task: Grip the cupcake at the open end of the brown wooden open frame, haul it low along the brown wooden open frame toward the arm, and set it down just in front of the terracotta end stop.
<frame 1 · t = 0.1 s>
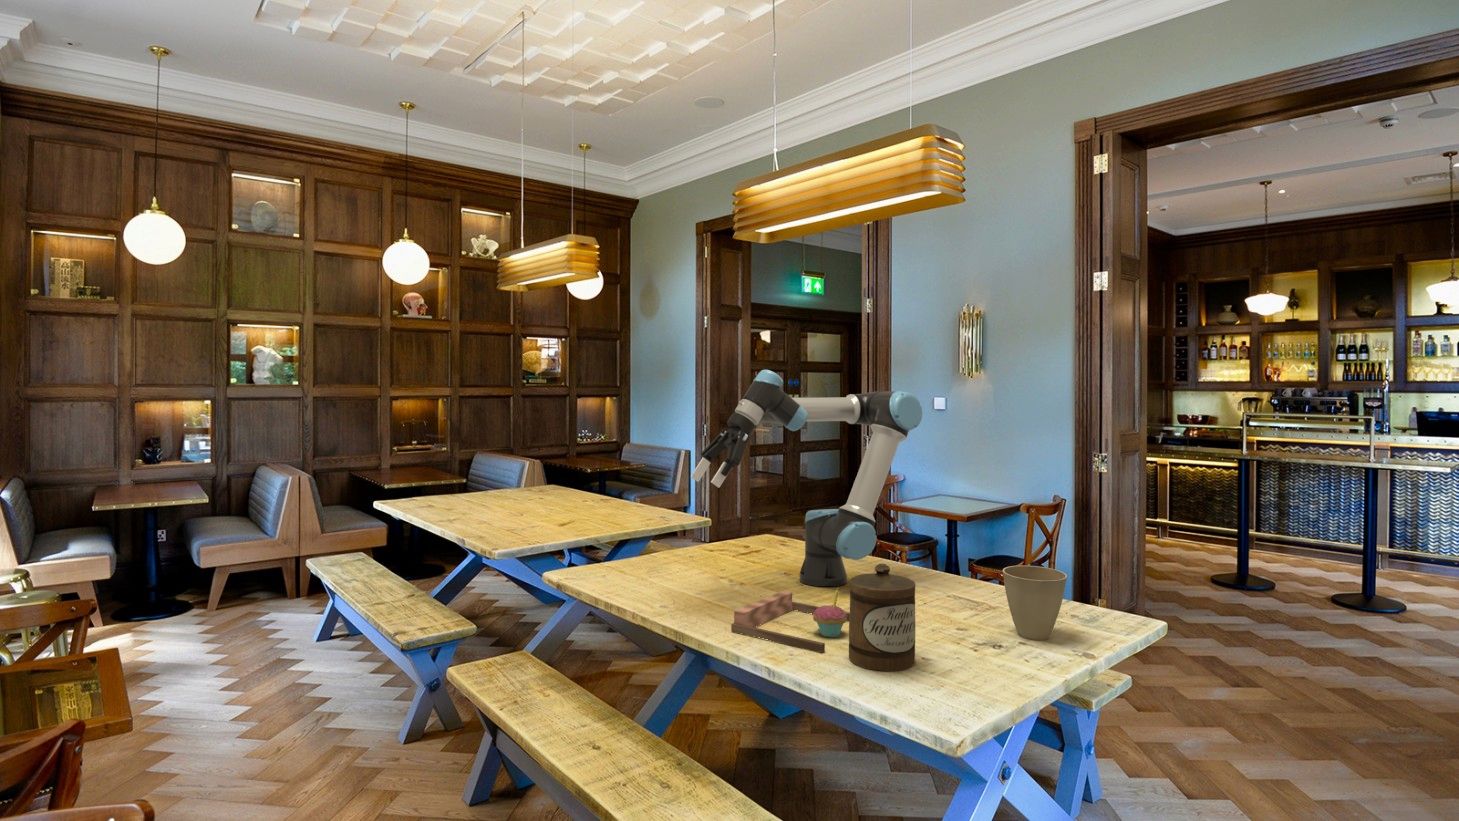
hand: (704, 482, 207), 36 cm above the table, tool tilted 35°, fingers open, 13 cm apart
brown wooden open frame: (802, 628, 194), on the table
cupcake: (829, 634, 190), on the table
wooden container: (881, 660, 172), on the table
plant pot: (1033, 636, 189), on the table
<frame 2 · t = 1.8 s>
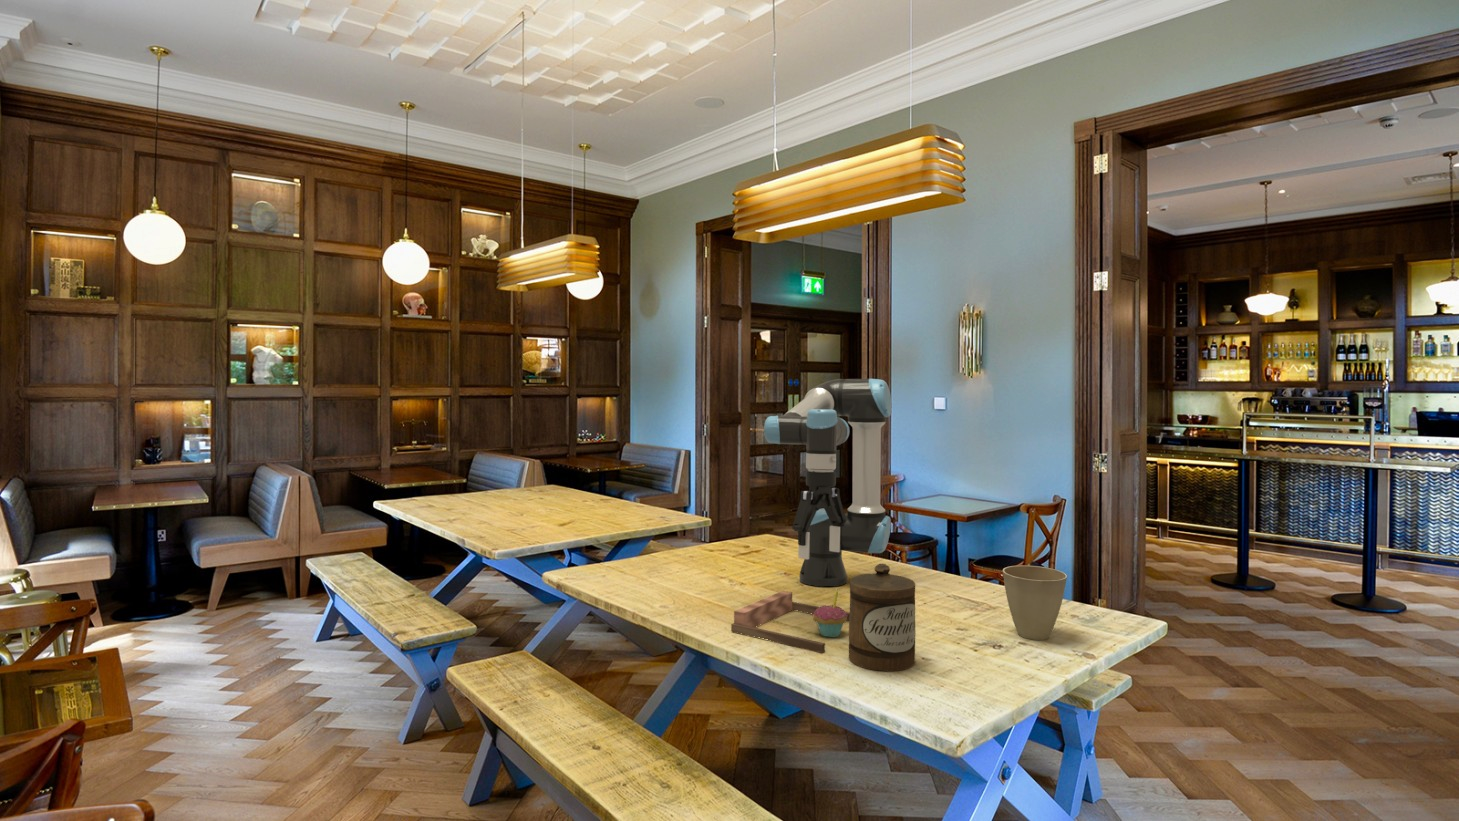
hand: (819, 555, 189), 20 cm above the table, tool pointing down, fingers open, 13 cm apart
nothing on the table moved.
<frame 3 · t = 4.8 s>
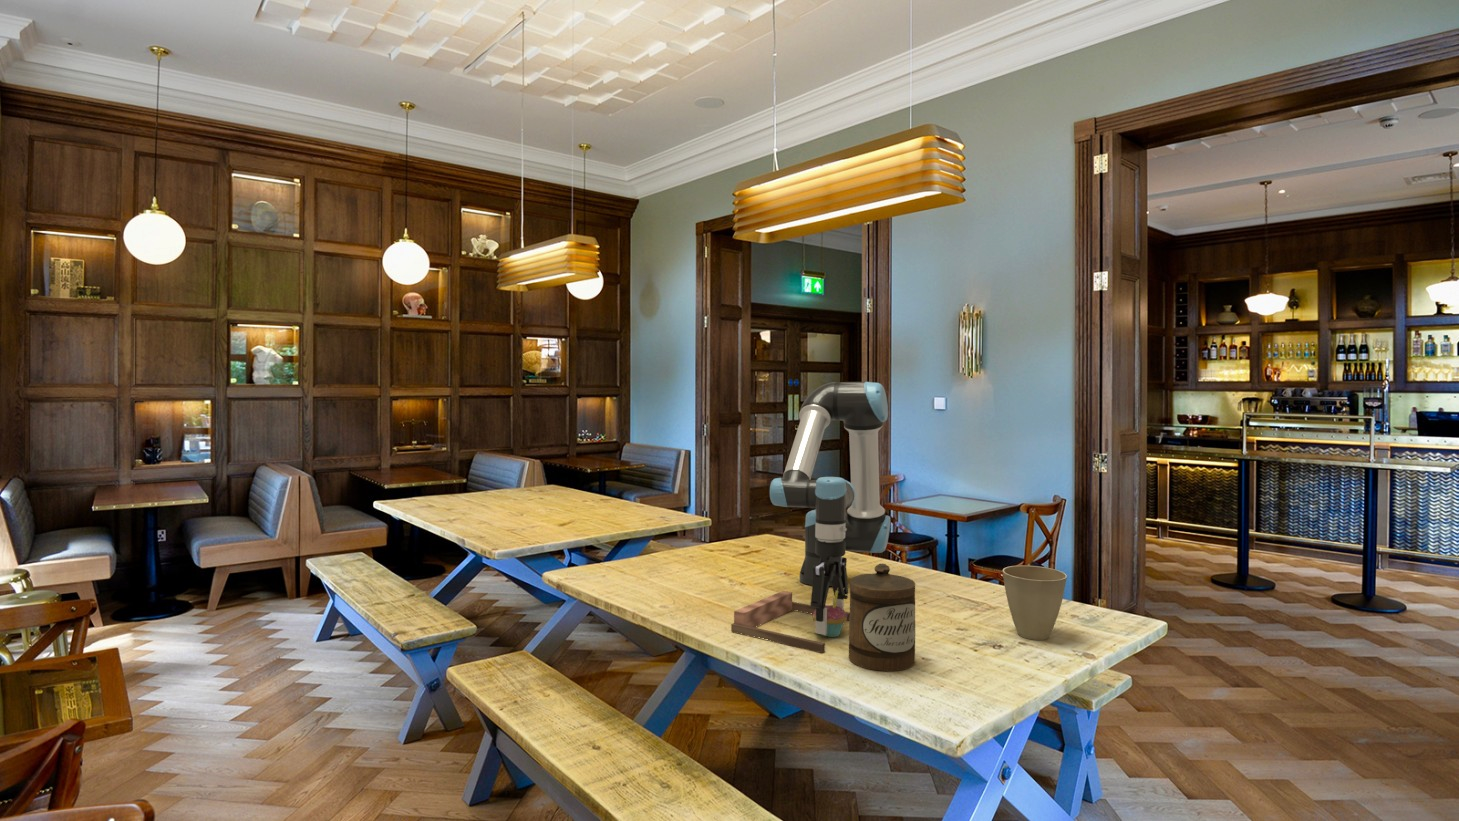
hand: (829, 628, 190), 1 cm above the table, tool pointing down, fingers closed on cupcake, 8 cm apart
cupcake: (829, 634, 190), on the table, touching gripper
everything else where it was.
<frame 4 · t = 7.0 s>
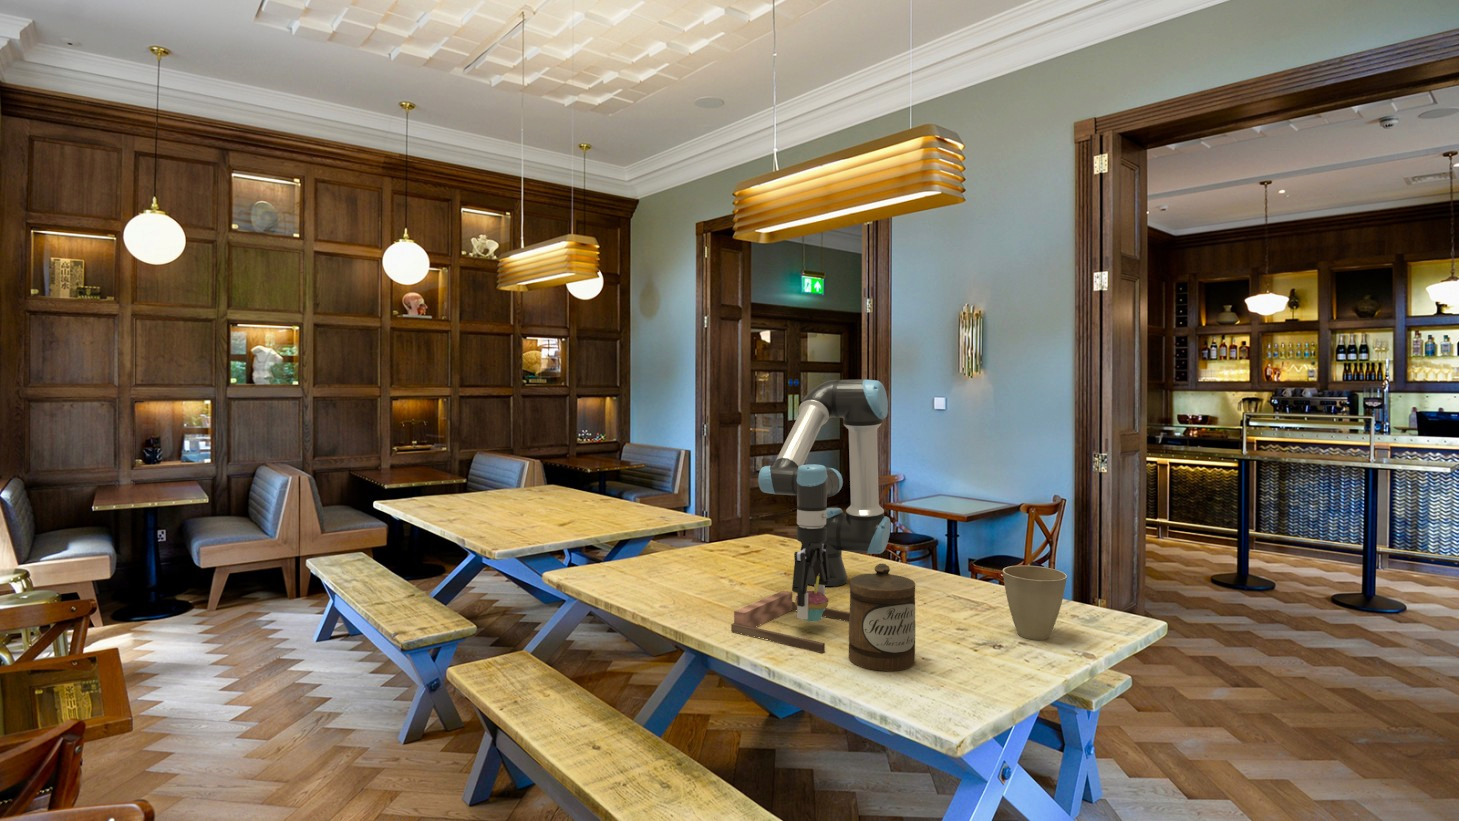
hand: (811, 613, 193), 4 cm above the table, tool pointing down, fingers closed on cupcake, 8 cm apart
cupcake: (811, 619, 193), point 3 cm above the table, touching gripper
everything else where it was.
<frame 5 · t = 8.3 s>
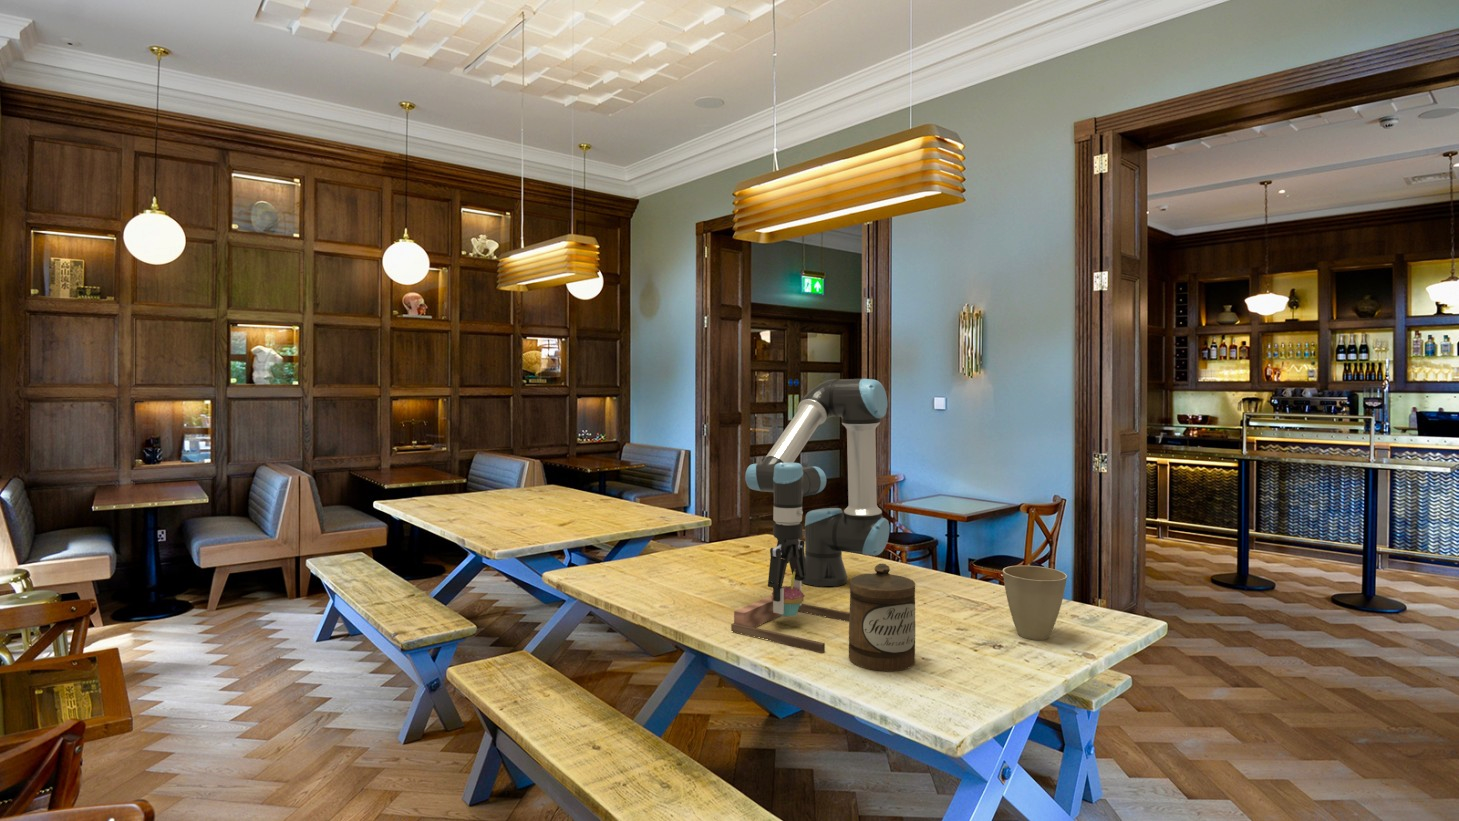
hand: (787, 608, 197), 4 cm above the table, tool pointing down, fingers closed on cupcake, 8 cm apart
cupcake: (787, 614, 197), point 3 cm above the table, touching gripper
everything else where it was.
when the fingers open (3 cm above the table, at t = 9.5 s): cupcake drops 1 cm, on the table.
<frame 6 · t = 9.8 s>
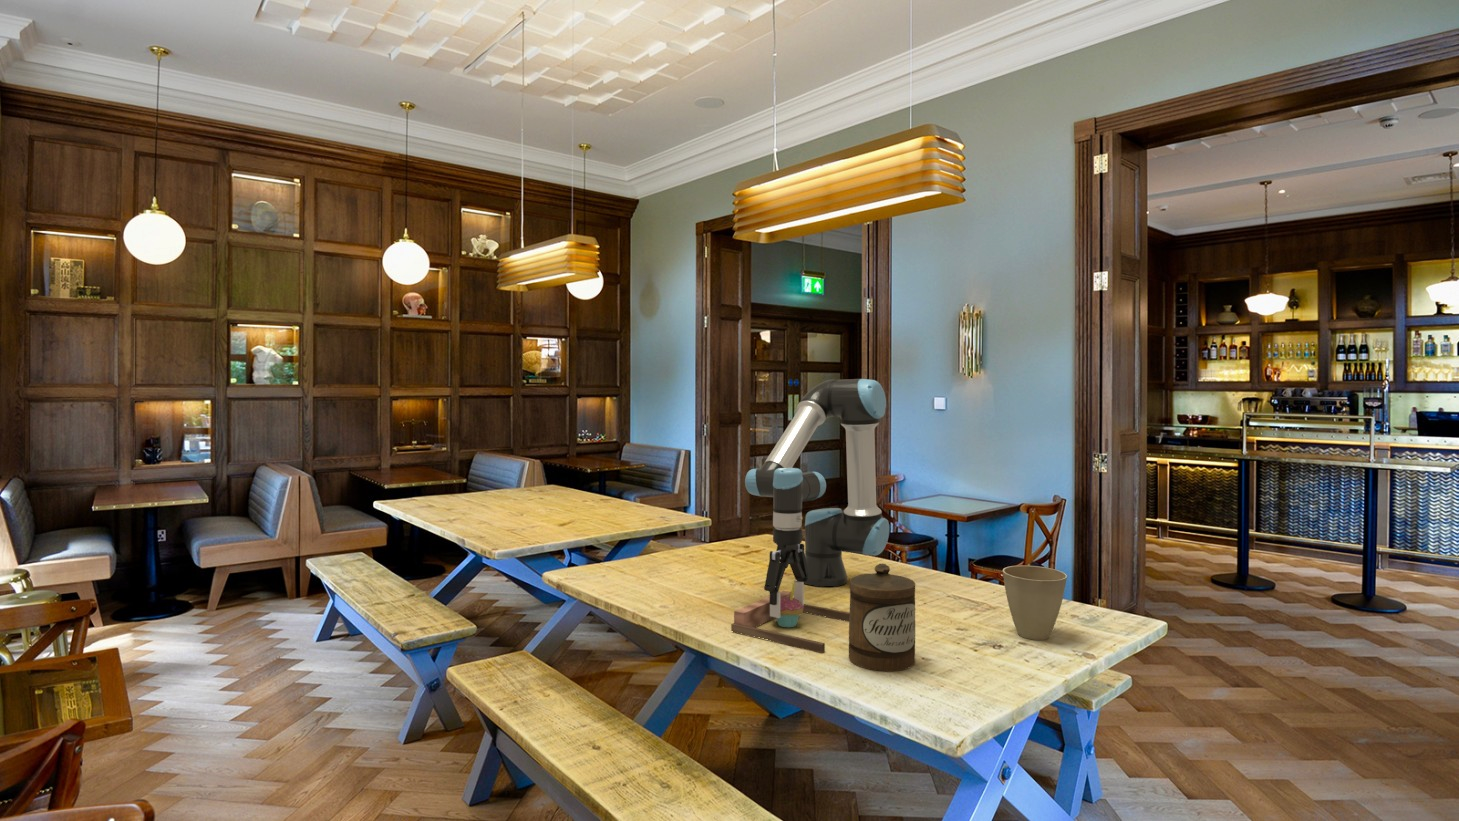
hand: (787, 611, 197), 4 cm above the table, tool pointing down, fingers open, 11 cm apart
cupcake: (786, 625, 197), on the table
everything else where it was.
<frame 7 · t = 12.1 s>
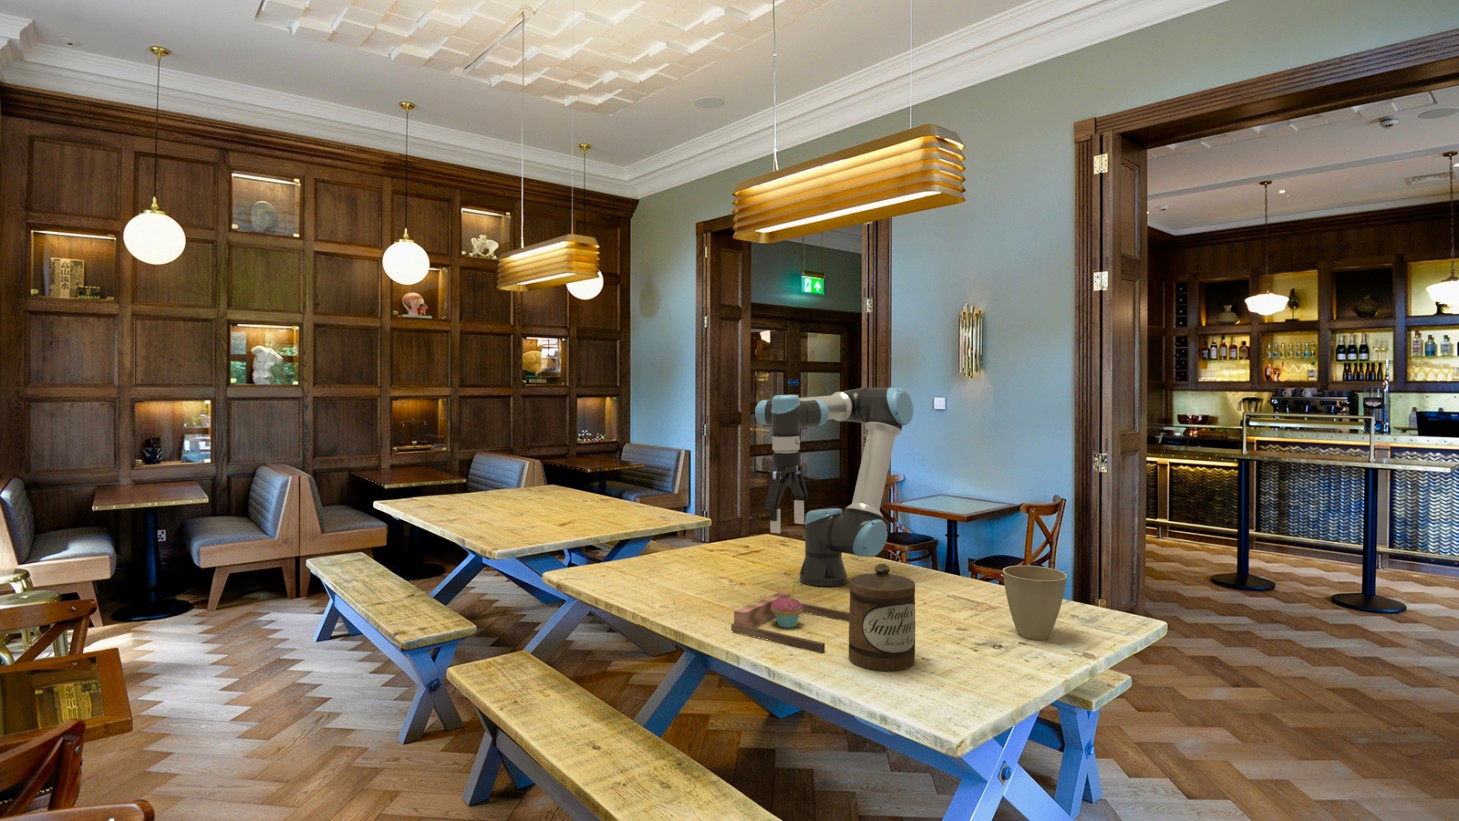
hand: (787, 528, 208), 23 cm above the table, tool pointing down, fingers open, 13 cm apart
nothing on the table moved.
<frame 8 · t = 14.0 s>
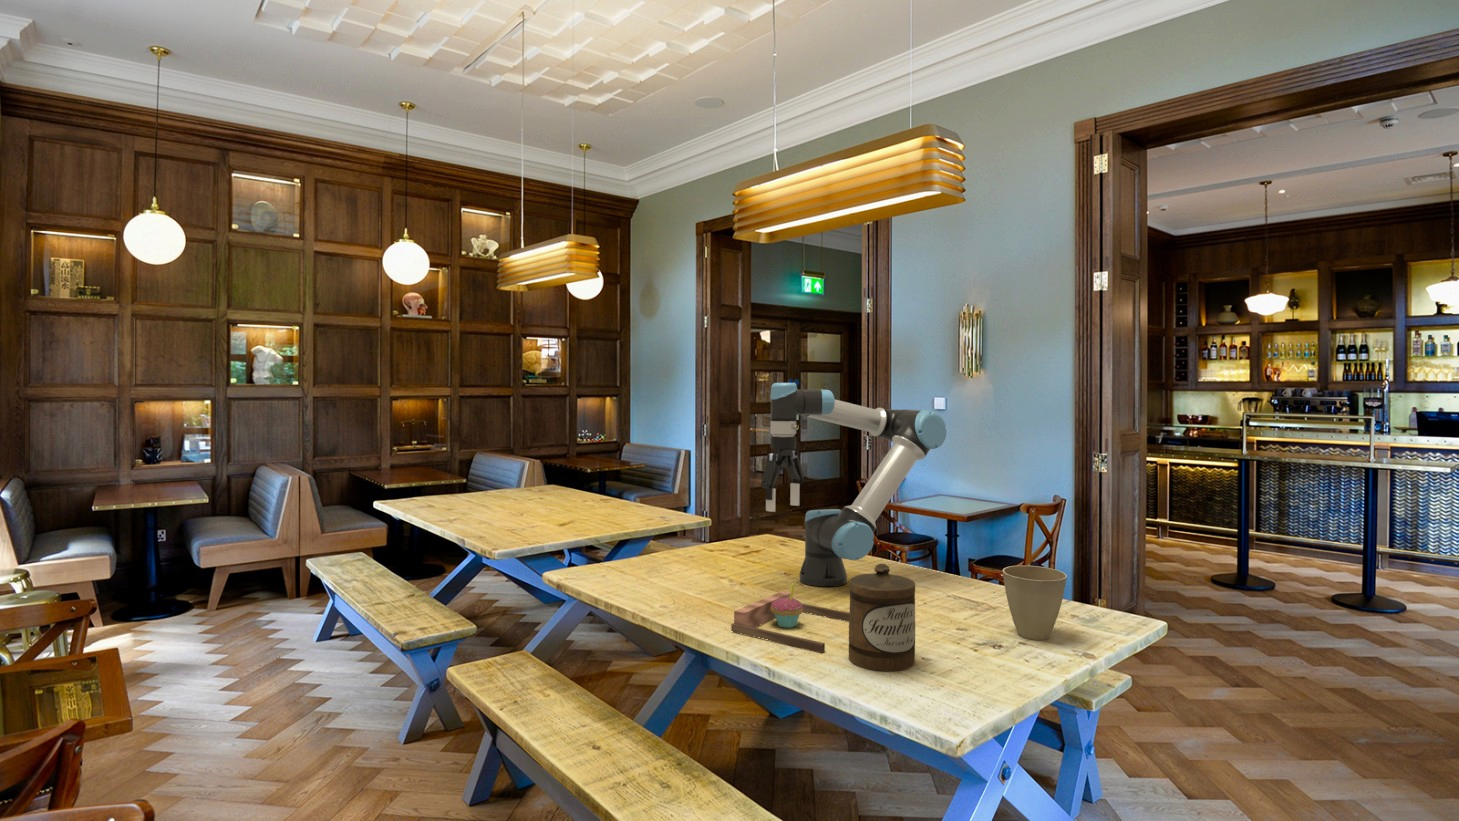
hand: (783, 508, 220), 27 cm above the table, tool pointing down, fingers open, 13 cm apart
nothing on the table moved.
at the end: cupcake inside the target area (0.2 cm from its centre), on the table; cupcake tilted 0°; the gripper is holding nothing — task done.
